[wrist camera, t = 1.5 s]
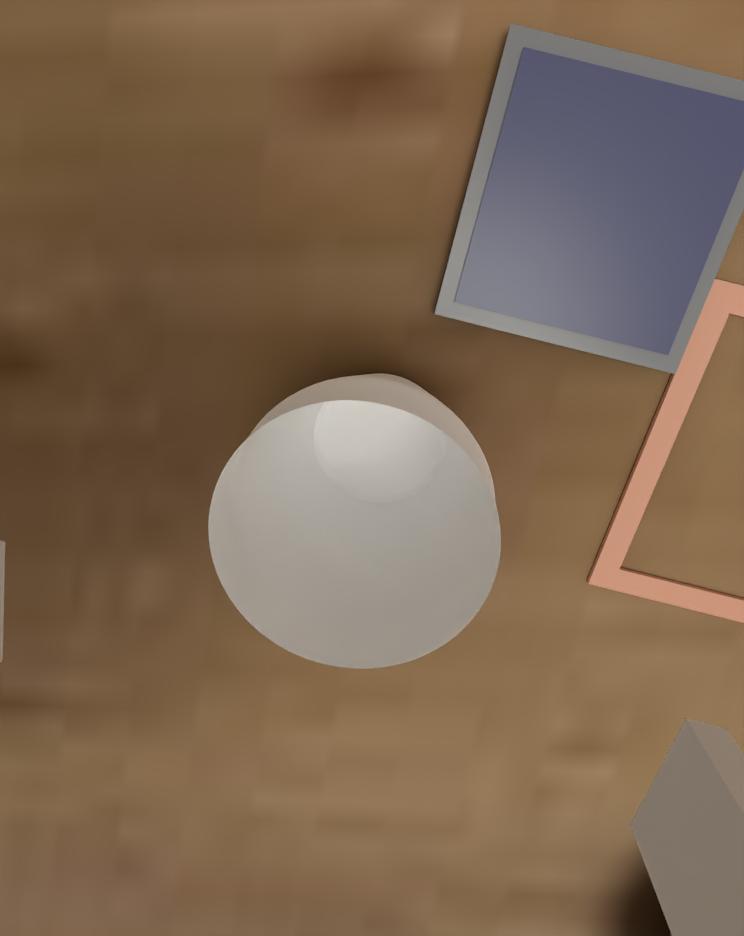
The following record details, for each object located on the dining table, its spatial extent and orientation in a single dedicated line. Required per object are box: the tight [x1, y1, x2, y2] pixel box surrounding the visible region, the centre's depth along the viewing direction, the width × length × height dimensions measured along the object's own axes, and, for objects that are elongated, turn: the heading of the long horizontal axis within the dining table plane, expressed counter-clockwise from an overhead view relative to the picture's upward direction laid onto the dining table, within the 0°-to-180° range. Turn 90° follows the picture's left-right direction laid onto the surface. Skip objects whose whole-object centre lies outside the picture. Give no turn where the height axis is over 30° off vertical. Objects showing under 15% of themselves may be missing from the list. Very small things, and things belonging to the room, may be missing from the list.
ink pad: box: [434, 23, 744, 374], centre depth 23 cm, size 11×11×1 cm
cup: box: [208, 374, 501, 669], centre depth 22 cm, size 9×9×12 cm
